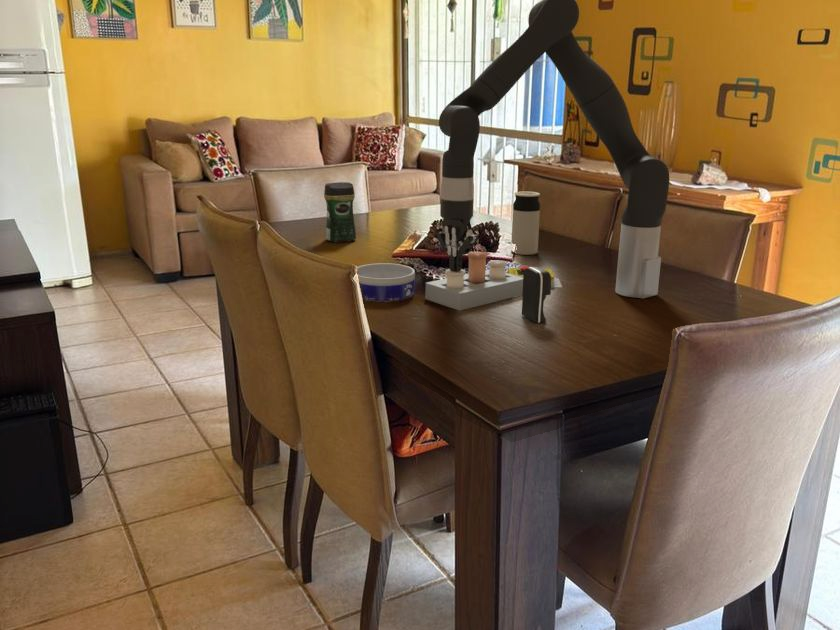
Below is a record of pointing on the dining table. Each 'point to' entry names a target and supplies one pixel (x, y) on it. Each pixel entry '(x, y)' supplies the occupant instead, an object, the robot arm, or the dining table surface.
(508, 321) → the dining table surface
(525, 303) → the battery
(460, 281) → the ivory plug
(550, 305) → the dining table surface
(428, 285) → the board
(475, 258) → the terracotta plug
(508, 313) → the dining table surface
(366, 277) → the dog bowl
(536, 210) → the travel mug
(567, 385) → the dining table surface
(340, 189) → the coffee jar
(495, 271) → the ivory plug
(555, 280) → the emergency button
